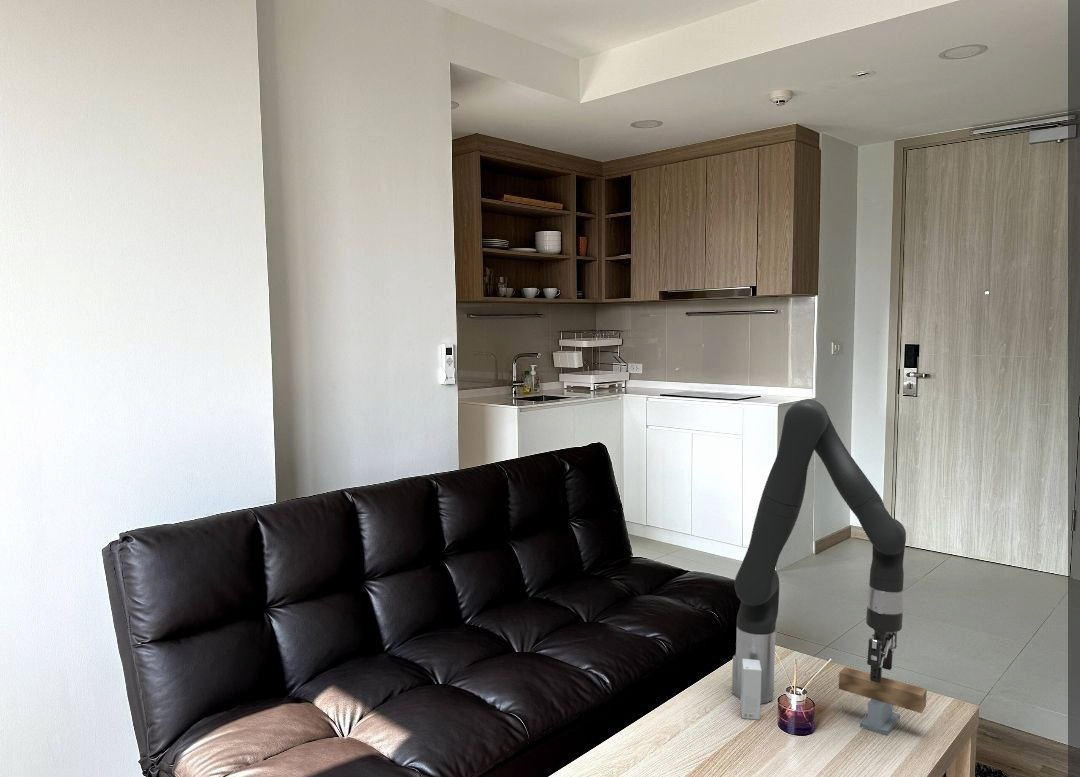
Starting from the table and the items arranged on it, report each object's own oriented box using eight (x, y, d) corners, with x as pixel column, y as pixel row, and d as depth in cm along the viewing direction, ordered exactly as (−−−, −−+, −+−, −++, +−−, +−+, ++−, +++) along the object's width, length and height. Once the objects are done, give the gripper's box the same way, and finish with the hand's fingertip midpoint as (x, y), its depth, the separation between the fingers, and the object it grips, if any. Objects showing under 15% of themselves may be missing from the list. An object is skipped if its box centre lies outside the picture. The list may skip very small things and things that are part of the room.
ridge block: (859, 726, 177) (860, 701, 177) (873, 710, 185) (873, 685, 184) (887, 735, 173) (888, 709, 173) (899, 718, 181) (900, 693, 181)
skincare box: (760, 720, 180) (761, 670, 179) (741, 718, 181) (742, 668, 180) (758, 707, 186) (759, 659, 185) (740, 706, 187) (741, 657, 186)
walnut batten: (838, 688, 183) (839, 672, 182) (844, 682, 186) (844, 666, 185) (921, 713, 171) (922, 695, 171) (925, 706, 174) (926, 689, 174)
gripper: (876, 594, 185) (873, 660, 186) (858, 611, 174) (854, 681, 175) (910, 602, 180) (906, 669, 181) (893, 620, 169) (889, 691, 170)
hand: (881, 675), depth 178 cm, fingers open, 8 cm apart
